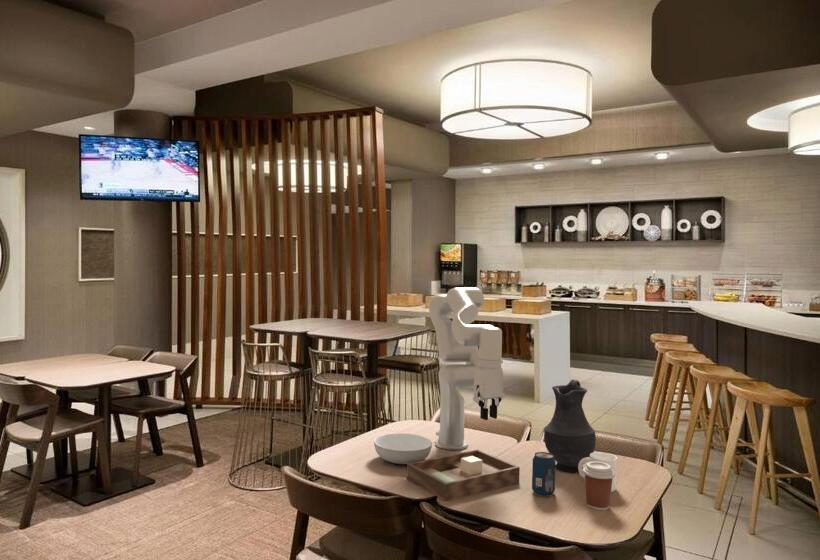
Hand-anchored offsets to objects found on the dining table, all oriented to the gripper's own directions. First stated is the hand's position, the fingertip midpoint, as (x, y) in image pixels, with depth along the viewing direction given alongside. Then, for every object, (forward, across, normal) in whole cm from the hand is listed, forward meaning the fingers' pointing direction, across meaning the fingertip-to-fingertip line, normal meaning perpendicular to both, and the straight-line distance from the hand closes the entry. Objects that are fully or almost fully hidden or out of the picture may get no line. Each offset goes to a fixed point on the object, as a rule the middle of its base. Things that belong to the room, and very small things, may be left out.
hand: (488, 418), depth 193 cm
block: (+17, +7, 0) cm, 18 cm away
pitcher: (+19, -30, +9) cm, 37 cm away
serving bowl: (+20, +16, -27) cm, 37 cm away
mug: (+19, -24, +26) cm, 40 cm away
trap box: (+19, +10, 0) cm, 22 cm away
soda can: (+19, -4, +21) cm, 29 cm away
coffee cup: (+19, -12, +36) cm, 42 cm away
